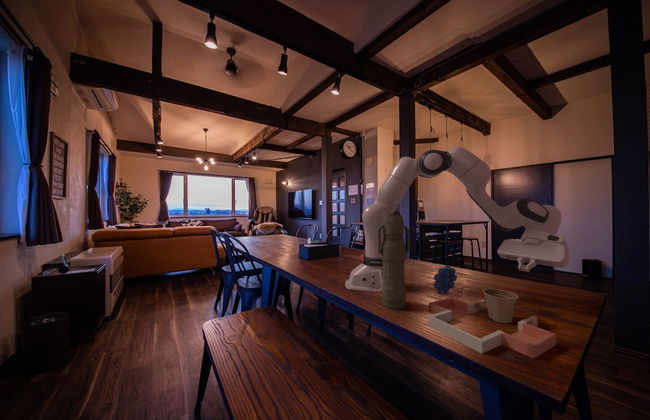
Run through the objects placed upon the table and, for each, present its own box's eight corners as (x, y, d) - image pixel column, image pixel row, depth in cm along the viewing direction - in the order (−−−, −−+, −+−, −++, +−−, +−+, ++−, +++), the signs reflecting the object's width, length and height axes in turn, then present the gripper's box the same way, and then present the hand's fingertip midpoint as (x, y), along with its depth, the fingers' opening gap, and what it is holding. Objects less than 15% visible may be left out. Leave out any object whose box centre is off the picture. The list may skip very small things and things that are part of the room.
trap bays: (451, 304, 91) (451, 296, 91) (556, 345, 64) (556, 333, 64) (428, 311, 85) (428, 303, 85) (533, 358, 58) (533, 346, 58)
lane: (482, 307, 88) (482, 299, 88) (537, 326, 74) (537, 317, 74) (467, 312, 84) (467, 304, 84) (522, 334, 70) (522, 323, 70)
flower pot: (525, 327, 73) (525, 299, 73) (491, 324, 75) (491, 297, 75) (508, 314, 83) (508, 289, 83) (478, 312, 85) (478, 287, 84)
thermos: (414, 308, 88) (413, 213, 88) (383, 310, 86) (382, 214, 86) (403, 299, 97) (403, 213, 96) (375, 301, 95) (374, 213, 95)
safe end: (448, 318, 80) (448, 309, 80) (504, 343, 65) (504, 332, 65) (427, 325, 75) (427, 316, 75) (482, 353, 60) (482, 342, 60)
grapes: (449, 288, 109) (449, 262, 109) (460, 293, 103) (460, 265, 103) (427, 290, 106) (427, 264, 106) (437, 296, 100) (437, 267, 100)
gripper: (502, 233, 99) (488, 259, 94) (570, 238, 80) (557, 271, 76) (508, 243, 101) (495, 269, 96) (575, 250, 82) (563, 283, 78)
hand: (523, 270), depth 86 cm, fingers closed
